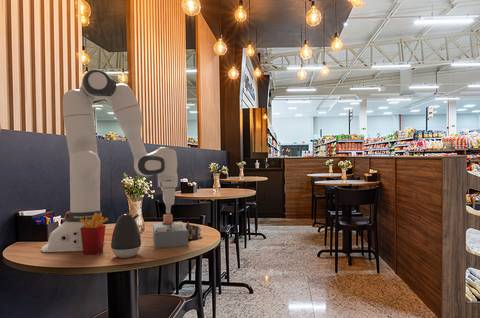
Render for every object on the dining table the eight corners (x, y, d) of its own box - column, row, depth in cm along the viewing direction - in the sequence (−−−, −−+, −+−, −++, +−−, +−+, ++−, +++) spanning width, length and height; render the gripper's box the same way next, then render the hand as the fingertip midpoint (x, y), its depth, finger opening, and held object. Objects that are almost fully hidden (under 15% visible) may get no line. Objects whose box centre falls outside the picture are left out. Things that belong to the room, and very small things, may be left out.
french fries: (79, 255, 121) (79, 213, 122) (92, 249, 130) (92, 210, 130) (101, 255, 120) (101, 214, 120) (113, 249, 128) (113, 210, 129)
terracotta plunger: (163, 226, 148) (163, 215, 148) (163, 225, 152) (163, 214, 152) (172, 226, 149) (172, 215, 150) (172, 224, 153) (172, 213, 153)
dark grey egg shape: (147, 254, 121) (147, 212, 121) (123, 261, 112) (122, 216, 112) (129, 250, 126) (129, 210, 127) (105, 257, 118) (104, 214, 118)
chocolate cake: (202, 242, 142) (204, 219, 151) (186, 238, 140) (190, 215, 149) (196, 253, 148) (198, 230, 157) (180, 250, 146) (184, 227, 155)
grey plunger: (157, 241, 132) (156, 228, 132) (156, 239, 136) (156, 227, 136) (167, 240, 133) (167, 228, 133) (166, 238, 137) (166, 226, 137)
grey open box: (154, 248, 130) (154, 232, 130) (153, 236, 152) (153, 223, 152) (187, 245, 134) (187, 230, 134) (181, 234, 156) (181, 221, 156)
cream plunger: (172, 236, 140) (172, 224, 141) (171, 234, 144) (171, 223, 144) (181, 235, 142) (181, 224, 142) (180, 234, 145) (180, 222, 146)
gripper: (159, 181, 160) (160, 210, 160) (161, 184, 141) (162, 216, 141) (173, 181, 162) (173, 209, 162) (176, 183, 142) (177, 215, 142)
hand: (168, 213), depth 151 cm, fingers closed
